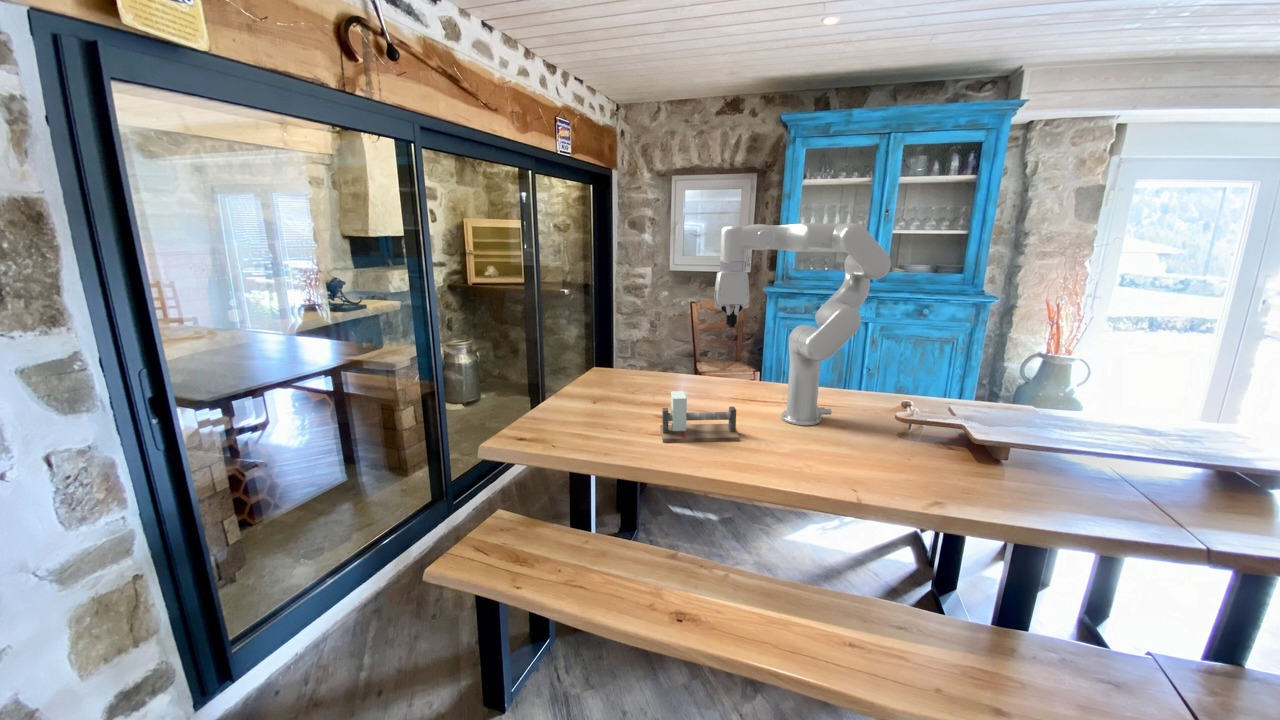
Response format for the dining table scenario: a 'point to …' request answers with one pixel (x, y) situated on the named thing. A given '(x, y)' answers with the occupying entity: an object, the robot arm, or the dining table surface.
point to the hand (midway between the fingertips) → (731, 326)
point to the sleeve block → (678, 410)
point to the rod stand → (701, 427)
